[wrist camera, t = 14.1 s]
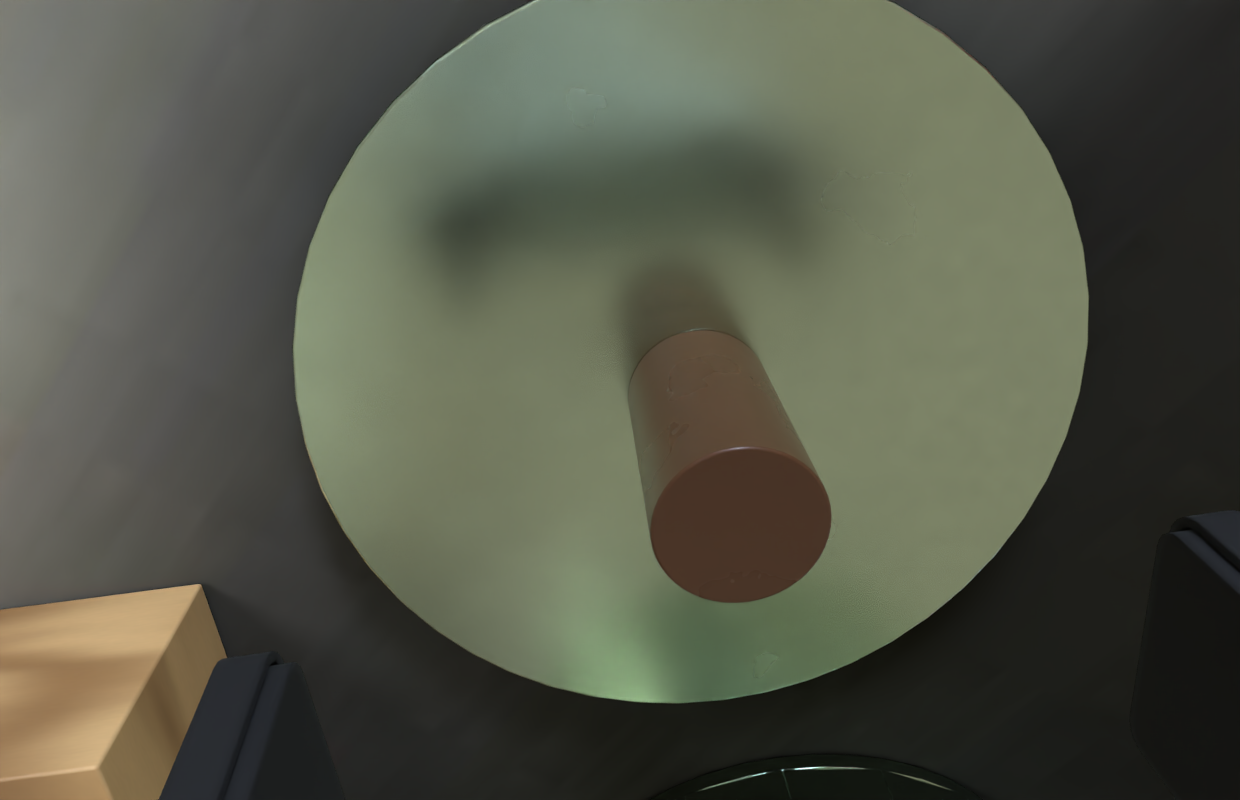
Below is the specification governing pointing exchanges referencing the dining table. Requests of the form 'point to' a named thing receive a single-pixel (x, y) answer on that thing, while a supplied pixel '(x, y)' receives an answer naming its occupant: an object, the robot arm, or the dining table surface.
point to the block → (101, 692)
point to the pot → (820, 781)
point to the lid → (690, 339)
